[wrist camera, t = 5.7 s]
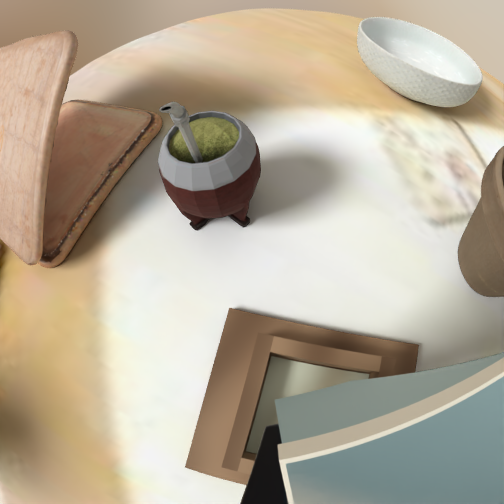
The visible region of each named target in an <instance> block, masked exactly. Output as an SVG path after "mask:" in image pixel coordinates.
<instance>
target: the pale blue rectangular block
mask: <svg viewBox="0 0 504 504" xmlns="http://www.w3.org/2000/svg"><path fill="white" fill-rule="evenodd" d="M275 406H276V411H277V417H278V423H279V429H280V435H281V441H282V444H278V454H279V462H280V467H281V472H282V476H283V481H284V486H285V490H286V495H287V499H288V504H504V352H503V353H500V354H496V355H493V356H489V357H485V358H481V359H477V360H473V361H469V362H465V363H460V364H456V365H451V366H447V367H442V368H437V369H431V370H426V371H420V372H414V373H408V374H402V375H395V376H388V377H380V378H372V379H363V380H353V381H348V382H345V383H341V384H338V385H334V386H331V387H327V388H323V389H319V390H315V391H311V392H307V393H303V394H299V395H294V396H290V397H285V398H280V399H275Z"/></svg>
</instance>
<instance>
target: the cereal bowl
mask: <svg viewBox="0 0 504 504" xmlns="http://www.w3.org/2000/svg"><path fill="white" fill-rule="evenodd" d="M357 45H358V46H357V47H358V52H359V53H360V56H361V59H362V60H363V62H364V63H365V65H366V66H367V67H368V69H369V70H370V71H371V72H372V73H373V74H374V75H375V76H376V77H377V78H378V79H379V80H381V81H382V82H383V83H384V84H386V85H388V86H389V87H390V88H392V89H393V90H394V91H396V92H397V93H399V94H400V95H402V96H404V97H406V98H409V99H411V100H414V101H418V102H422V103H426V104H429V105H433V106H440V107H456V106H459V105H462V104H464V103H466V102H468V101H469V100H470V99H471V98H472V97H473V96H474V95H475V94H476V92H477V90H478V89H479V87H480V85H481V83H482V79H483V77H482V73H481V70H480V69H479V67H478V65H477V64H476V63H475V62H474V60H473V59H472V58H471V57H470V56H469V55H468V54H467V53H465V52H464V51H463V50H462V49H461V48H459V47H458V46H457V45H455V44H454V43H452V42H451V41H449V40H447V39H446V38H444V37H442V36H441V35H439V34H437V33H435V32H433V31H431V30H428V29H426V28H423V27H421V26H418V25H415V24H412V23H409V22H406V21H402V20H398V19H392V18H385V17H372V18H367V19H364V20H362V21H361V22H360V24H359V28H358V36H357Z"/></svg>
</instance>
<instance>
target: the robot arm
mask: <svg viewBox="0 0 504 504" xmlns="http://www.w3.org/2000/svg"><path fill="white" fill-rule="evenodd" d="M278 444H282V441H281V435H280V429H279V424H273V425H268V426H266V427H265V429H264V432H263V436H262V439H261V442H260V445H259V449H258V452H257V455H256V458H255V461H254V464H253V467H252V471H251V474H250V477H249V480H248V483H247V486H246V489H245V491H244V494H243V497H242V500H241V503H240V504H288V499H287V495H286V490H285V486H284V481H283V476H282V472H281V467H280V462H279V454H278Z"/></svg>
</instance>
